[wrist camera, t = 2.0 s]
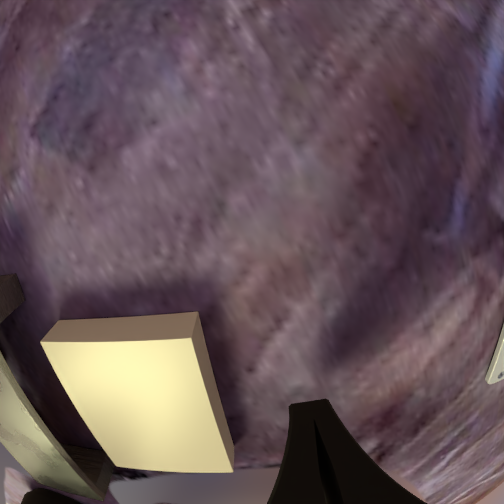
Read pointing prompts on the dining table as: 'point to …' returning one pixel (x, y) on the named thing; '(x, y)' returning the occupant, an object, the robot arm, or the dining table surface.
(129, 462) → the cream sticky note pad
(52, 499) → the coffee jar
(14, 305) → the overhang
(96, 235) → the dining table surface
